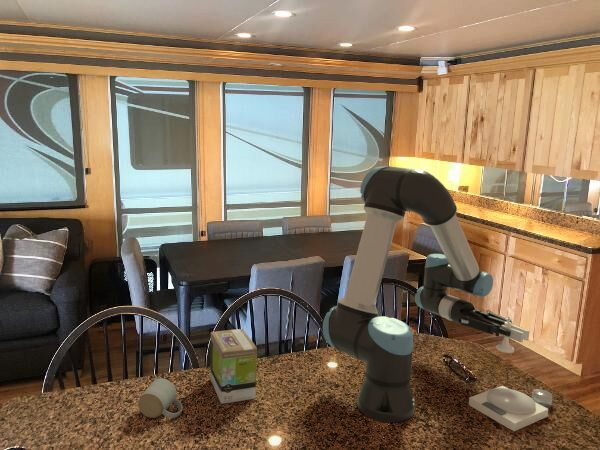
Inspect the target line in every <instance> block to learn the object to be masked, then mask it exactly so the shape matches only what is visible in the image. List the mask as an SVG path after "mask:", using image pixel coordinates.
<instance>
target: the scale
mask: <svg viewBox="0 0 600 450" xmlns="http://www.w3.org/2000/svg"><path fill="white" fill-rule="evenodd" d="M468 399H469V400H468V406H470V407H472V408H473V409H474V410H476V411H477V412H480V413H482V414H483V415H485V416H487V417H488V418H491V419H492V420H494V421H495V422H497V423H498V424H501V425H502V426H504V428H507V429H508V430H511V431H512V432H517V431H519V430H520V429H523V428H525V427H527V426H529V425H532V424H534V423H537V422H538V421H541V420H542V419H545V418H548V414H549V408H545V407H544V406H542V405H540V404H538V403H536V402H534V400H533V399H532V397H530V396H529V395H527V394H526V393H524V392H520V391H518V390H515V389H512V388H511V389H510V388H508V387H506V386H504V385H500V386H498V387H495V388H492V389H489V390H487V391H484V392H480V393H478V394H476V395H472V396H470V397H469V398H468Z"/></svg>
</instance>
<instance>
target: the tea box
mask: <svg viewBox="0 0 600 450" xmlns="http://www.w3.org/2000/svg"><path fill="white" fill-rule="evenodd" d="M209 342H210V345H209V346H210V348H209V349H210V353H209V380H210V382H211V384H212V386H213V388H214V390H215V392H216V395H217V398H218V400H219V402H220V404H230V403H235V402H243V401H248V400H254V399H256V393H257V371H258V370H257V369H258V367H257V366H258V365H257V363H258V348H257V346H256V344H255V343H254V342H253V340H252V338H250V337H249V335H248V334H247V332H246V331H245V330H244V329H243V328H239V329H238V328H237V329H229V330H218V331H211V332H210V341H209Z"/></svg>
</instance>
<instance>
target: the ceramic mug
mask: <svg viewBox="0 0 600 450" xmlns="http://www.w3.org/2000/svg"><path fill="white" fill-rule="evenodd" d="M177 395H178V392H177V389H176V387H175V385H174V384H173V383H172V382H171V381H170V380H168V379H166V378H156V379H154V380H153V381H152V382H151V384H150V385H149V386H148V387H147V388H146V390H145V391H144V392H143V393H142V394H141V396H140V397H139V399H138V403H137V404H138V409H139V412H140V413H141V414H142V415H143V416H145V417H147V418H150V419H155V418H158V417H160V416H161V415H163V416H165V418H170V419H175V418H178V417H179V416H180V415H181V413H182V411H183V410H184V409H183V404H182V403H181V401H180V400H179V399H177V397H178V396H177ZM172 404H175V406H177V407H178V409H179V411H177V412H171V411H168V410H167V409H168V408H170V406H172Z"/></svg>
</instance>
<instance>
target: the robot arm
mask: <svg viewBox="0 0 600 450" xmlns="http://www.w3.org/2000/svg"><path fill="white" fill-rule="evenodd" d="M359 192H360V194H361V195H360V198H361V200H362V202H363V203H364V206H363V210H364V212H365V214H366V218H365V222H364V226H363V230H362V234H361V237H360V241H359V244H358V249H357V251H356V256H355V260H354V263H353V266H352V270H351V273H350V277H349V281H348V284H347V289H346V292H345V295H344V296H343V297H342V298H340V299H339V300H338V301H337V304H336V306H335V305H334V306H333V307H331V308H330V309H329V311H328V312H326V314H325V316H324V319H323V323H322V332H323V337H324V339H325V341H326V342H327V344H328V345H330V346H331V347H333V348H334V349H335V350H336V351H339V352H341V353H344V354H346V355H348V356H351V357H353V358H355V359H357V360H358V361H361V362H362V363H365V365H366V366H365V376H364V380H363V382H362V384H361V388H360V389H359V391H358V393H357V401H356V405H357V408H358V410H359V411H360V412H361V413H362V414H363V415H365V416H366V417H368V418H370V419H372V420H375V421H378V422H383V423H401V422H405V421H408V420H409V419H411V418H412V417H413V416H414V414H415V411H416V400H415V397H414V394H413V390H412V386H411V373H412V365H413V364H412V361H413V352H414V349H415V348H414V334H413V330H412V328H411V327H410V326H409V325H408V324H407V323H406V322H404V321H402V320H400V319H398V318H395V317H388V316H385V315H383V316H379V311H378V309H377V307H376V301H377V298H378V294H379V291H380V286H381V283H382V278H383V276H384V271H385V268H386V265H387V261H388V256H389V253H390V249H391V247H392V243H393V238H394V235H395V231H396V227H397V224H398V223H399V222H401V221H403V220H404V218H405V215H406V212H411V213H414V214H416V215H417V216H419V217H421V219H422V221H423V222H424V224H426V225H427V226H429V227H430V229H431V230H432V233H433V235H434V237H435V238H436V240H437V243H438V245H439V247H440V249H441V250H442V252H443V253H430V254H428V255H427V256H426V259H425V260H426V261H425V265H424V276H423V277H424V278H423V285H422V286H420V287H419V288H418V289H417V290H416V294H415V295H414V301H415V304H416V306H417V307H419V308H420V309H423V310H425V311H426V312H430V313H432V314H434V315H436V316H437V315H438V316H439V317H442V318H443V319H447V321H451V322H453V323H456V324H459V325H461V326H464V327H469V328H471V329H475V330H478V331H480V332H484V333H485V334H490V335H494V334H495V337H500V335H501V336H503V337H504V336H506V337H508V338H509V339H511V340H513V341H515V342H519V343H523V342H524V341H523V340H525V341H529V338H530V330H528V329H525V328H523V327H520V326H517V325H515V324H512V325H511V327H507V326H505V324H504V323H505V322H507V320H505V318H506V317H504V316H502V315H499V314H497V313H494V312H493V311H491V310H486V312H484V311H482V310H480V309H477V308H476V309H475V306H474V304H473V303H472V302H470V301H467V300H465V299H462V298H459V297H457V296H454V295H451V294H448V293H447V290H448V289H452V290H456V291H460V292H462V293H466V294H470V295H472V296H478V297H480V298H481V297H482V298H485V297H487V296H488V295H489V294H490V293H491V291H492V289H493V285H494V278H493V275H492V274H490V273H488V272H486V271H482V270H481V268H480V267H479V264H478V262H477V260H476V257H475V256H474V253H473V251H472V248H471V245H470V243H469V242H468V239H467V237H466V234H465V232H464V230H463V228H462V226H461V223H460V221H459V219H458V216H457V212H458V208H457V205H456V202H455V200H454V198H453V196H452V194H451V193H450V192H449V190H448V189H447V188H446V187H445V185H444V184H443V183H442V182H441V181H440V180H439V179H438V178H436V176H434V175H433V174H432V173H429V172H428V171H425V170H422V169H418V168H417V169H416V168H414V169H413V168H407V167H406V168H405V167H398V166H390V165H389V166H388V165H386V166H376V167H374V168H372V169H371V170H369V171H368V172H367V173H366V174H365V175H364V177H363V179H362V181H361V185H360V189H359ZM510 322H511V323H513V320H510Z"/></svg>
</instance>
